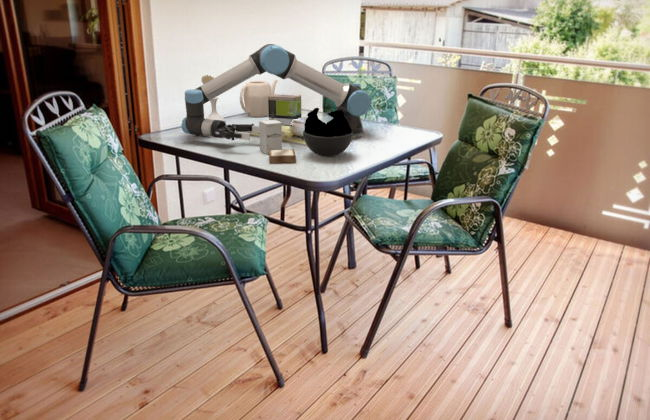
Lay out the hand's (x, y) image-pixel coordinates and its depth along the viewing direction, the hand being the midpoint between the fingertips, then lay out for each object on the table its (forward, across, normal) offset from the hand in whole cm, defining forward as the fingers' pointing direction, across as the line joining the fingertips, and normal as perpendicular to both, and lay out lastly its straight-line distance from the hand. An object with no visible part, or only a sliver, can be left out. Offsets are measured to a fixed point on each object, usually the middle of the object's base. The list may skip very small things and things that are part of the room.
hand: (257, 133), depth 207 cm
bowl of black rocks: (+30, -4, -8) cm, 31 cm away
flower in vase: (-47, -36, -7) cm, 60 cm away
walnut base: (+16, +10, -7) cm, 20 cm away
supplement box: (+6, 0, -8) cm, 9 cm away
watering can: (-39, -69, -7) cm, 80 cm away
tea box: (-16, -55, -8) cm, 58 cm away
